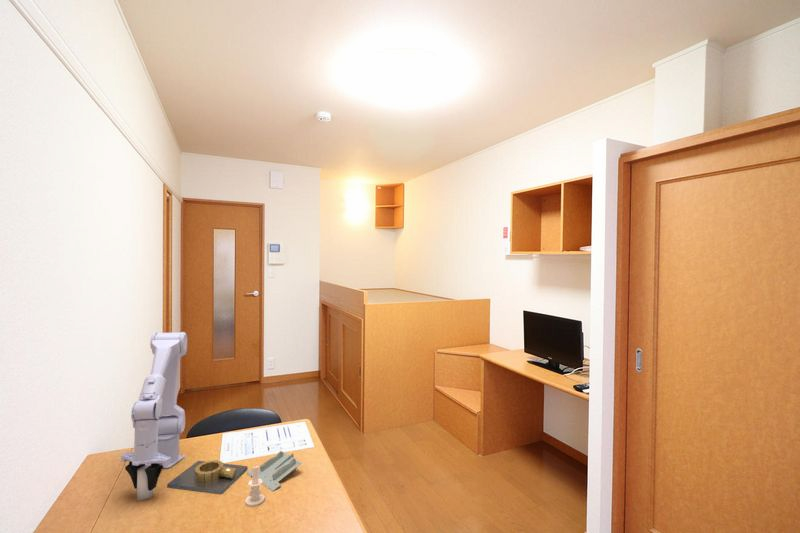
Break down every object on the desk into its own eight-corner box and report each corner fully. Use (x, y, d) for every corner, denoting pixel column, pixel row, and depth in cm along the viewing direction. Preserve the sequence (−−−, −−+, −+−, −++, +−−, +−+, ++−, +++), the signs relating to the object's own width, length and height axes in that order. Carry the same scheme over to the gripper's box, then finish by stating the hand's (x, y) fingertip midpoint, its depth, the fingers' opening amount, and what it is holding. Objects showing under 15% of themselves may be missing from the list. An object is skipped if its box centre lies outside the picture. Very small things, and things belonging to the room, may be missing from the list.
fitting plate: (167, 487, 116) (167, 474, 116) (198, 463, 130) (198, 452, 130) (221, 494, 113) (222, 481, 113) (247, 469, 127) (247, 457, 127)
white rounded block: (133, 499, 110) (133, 471, 110) (144, 491, 114) (145, 464, 114) (145, 501, 109) (146, 473, 109) (156, 492, 113) (157, 465, 113)
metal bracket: (279, 443, 134) (306, 458, 125) (283, 457, 135) (310, 473, 126) (242, 470, 124) (268, 489, 114) (246, 485, 125) (272, 505, 115)
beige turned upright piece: (241, 501, 110) (242, 465, 110) (257, 493, 114) (258, 458, 114) (251, 508, 107) (252, 471, 107) (268, 500, 111) (269, 464, 111)
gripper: (112, 445, 108) (111, 492, 109) (158, 450, 106) (156, 498, 106) (132, 434, 115) (131, 479, 116) (176, 438, 113) (175, 484, 113)
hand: (145, 487), depth 111 cm, fingers closed on white rounded block, 4 cm apart
